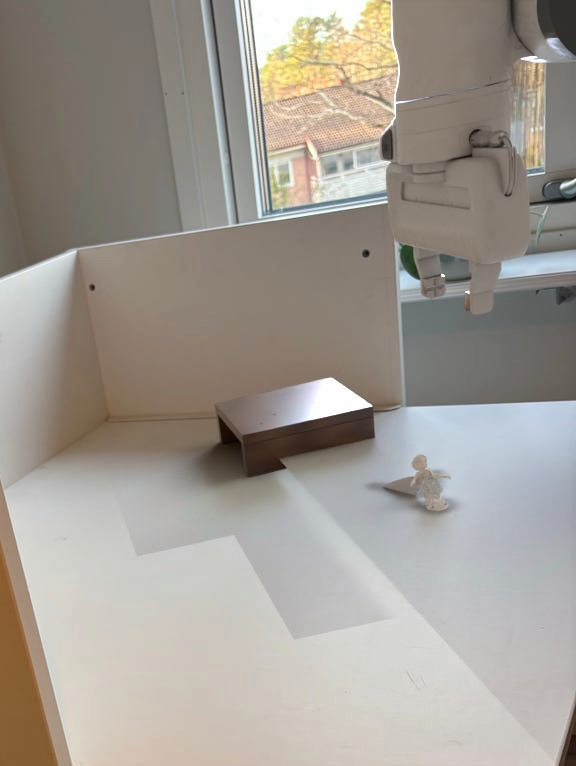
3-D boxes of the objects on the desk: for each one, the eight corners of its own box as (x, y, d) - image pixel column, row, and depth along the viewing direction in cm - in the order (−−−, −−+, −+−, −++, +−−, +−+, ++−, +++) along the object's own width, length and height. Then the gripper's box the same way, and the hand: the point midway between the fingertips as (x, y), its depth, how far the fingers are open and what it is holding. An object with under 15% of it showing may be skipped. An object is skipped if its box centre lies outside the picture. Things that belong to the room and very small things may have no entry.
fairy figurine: (413, 521, 88) (389, 456, 90) (397, 553, 95) (375, 491, 97) (478, 506, 88) (452, 441, 90) (458, 538, 94) (434, 477, 97)
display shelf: (334, 415, 123) (331, 377, 120) (376, 448, 109) (373, 406, 107) (219, 441, 123) (214, 403, 120) (247, 477, 109) (242, 435, 107)
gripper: (555, 120, 70) (550, 315, 76) (439, 124, 88) (442, 281, 94) (470, 139, 70) (472, 332, 76) (371, 139, 88) (379, 295, 94)
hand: (455, 304), depth 85 cm, fingers open, 8 cm apart
